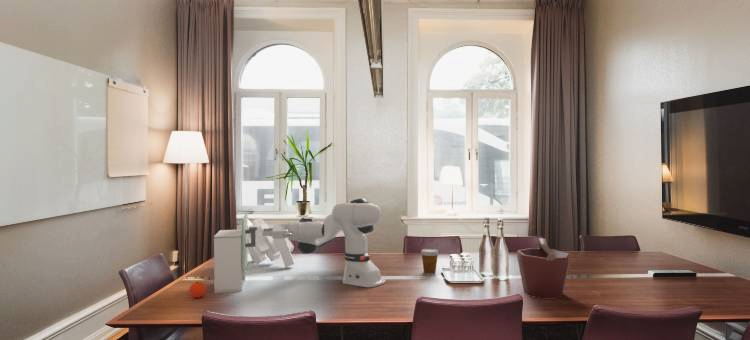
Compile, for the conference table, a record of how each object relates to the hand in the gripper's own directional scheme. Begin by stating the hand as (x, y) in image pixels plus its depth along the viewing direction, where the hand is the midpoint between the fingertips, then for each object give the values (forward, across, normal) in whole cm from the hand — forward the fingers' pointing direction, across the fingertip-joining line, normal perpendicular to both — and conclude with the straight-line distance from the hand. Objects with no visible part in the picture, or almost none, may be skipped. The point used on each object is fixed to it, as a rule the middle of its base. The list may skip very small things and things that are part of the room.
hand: (262, 232), depth 211 cm
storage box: (+15, 0, -26) cm, 30 cm away
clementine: (+27, -14, -26) cm, 40 cm away
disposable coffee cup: (-87, +7, -26) cm, 92 cm away
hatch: (+6, 0, -17) cm, 18 cm away
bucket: (-125, -40, -26) cm, 134 cm away
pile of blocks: (+2, +41, -26) cm, 49 cm away
